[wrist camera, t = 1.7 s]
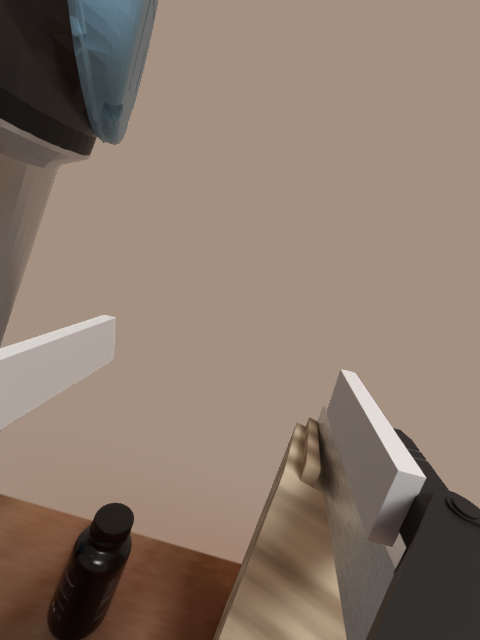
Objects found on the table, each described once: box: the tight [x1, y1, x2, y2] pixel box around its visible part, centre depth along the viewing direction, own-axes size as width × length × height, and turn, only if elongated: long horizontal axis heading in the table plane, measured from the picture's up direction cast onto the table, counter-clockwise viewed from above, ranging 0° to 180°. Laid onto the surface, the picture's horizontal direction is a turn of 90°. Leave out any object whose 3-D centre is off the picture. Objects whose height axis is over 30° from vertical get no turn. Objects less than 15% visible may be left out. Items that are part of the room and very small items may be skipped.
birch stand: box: [213, 418, 347, 640], centre depth 27 cm, size 18×10×32 cm, turn 161°
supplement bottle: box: [48, 503, 134, 640], centre depth 31 cm, size 7×7×12 cm
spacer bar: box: [317, 406, 406, 640], centre depth 22 cm, size 30×4×4 cm, turn 164°
